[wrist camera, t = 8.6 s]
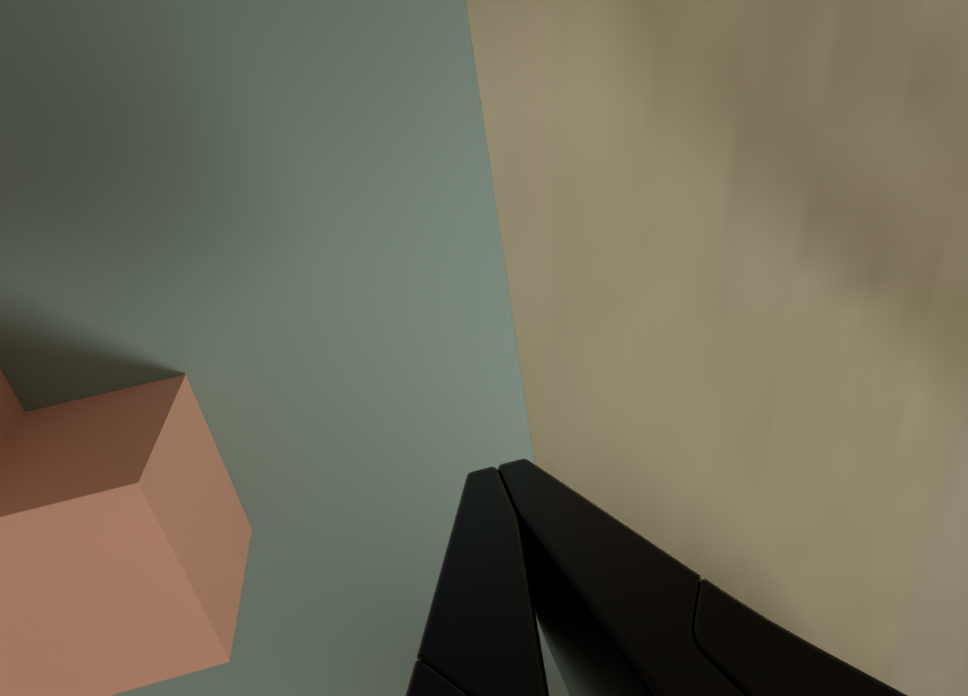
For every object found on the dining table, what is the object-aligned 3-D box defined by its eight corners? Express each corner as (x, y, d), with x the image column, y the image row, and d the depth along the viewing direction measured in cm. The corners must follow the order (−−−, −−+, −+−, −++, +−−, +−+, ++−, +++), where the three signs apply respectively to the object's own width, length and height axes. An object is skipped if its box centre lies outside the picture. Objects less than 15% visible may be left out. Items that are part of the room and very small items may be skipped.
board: (424, -209, 10) (431, -227, 10) (569, 728, 21) (578, 752, 21) (-1456, 49, 8) (-1638, 50, 7) (-202, 963, 19) (-224, 1001, 18)
